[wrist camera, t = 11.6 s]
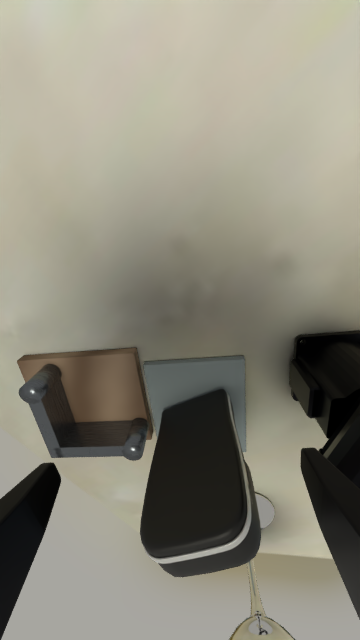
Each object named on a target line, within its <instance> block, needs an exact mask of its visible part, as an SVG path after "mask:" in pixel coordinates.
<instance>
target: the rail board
mask: <svg viewBox="0 0 360 640" xmlns="http://www.w3.org/2000/svg"><path fill="white" fill-rule="evenodd" d="M17 363H18V365H19V368H20V370H21V373H22V375H23V378H24V380H25V383H26V382H27V381H28V380H29V379H31V378H32V377H33V376H34V375H35V374H36V373H37V372H38V371H39V370H40V369H41V368H42V367H43V366H45V365H46V364H54V365H56V366H57V367H59V368H60V370H61V372H62V376H61V381H62V384H63V387H64V390H65V393H66V396H67V399H68V402H69V405H70V408H71V411H72V413H73V416H74V419H75V422H97V421H124V420H133V419H135V418H144V419H146V420H147V421H148V422H149V430H148V434H147V438H146V440H151V439H152V434H153V429H152V424H151V419H150V414H149V409H148V404H147V399H146V394H145V389H144V384H143V379H142V374H141V369H140V363H139V358H138V353H137V348H126V349H112V350H97V351H82V352H68V353H53V354H38V355H24V356H23V357H21V358H20V359H19V360H17Z"/></svg>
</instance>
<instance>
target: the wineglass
mask: <svg viewBox="0 0 360 640" xmlns="http://www.w3.org/2000/svg"><path fill="white" fill-rule="evenodd" d="M255 496H256V501H257V507H258V512H259V518H260V526H261V529H263V528H265V527H267V526H268V525H269V524H270V523H271V522H272V521H273V519H274V516H275V510H274V506H273V505H272V503H271V502H270V501H269V500H268V499H267V498H265V497H264V496H262V495H259V494H257V493H255ZM247 568H248V575H249V583H250V592H251V615H250V617H249V618H247V619H245V620H244V621H243V622H242V623H241V624H240V625H239V626H238V627H237V628H236V629H235V631H234V632H233V634H232V635H231V637H230V638H229V640H295V639H294V638H293V637H292V636H291V635H290V633H289V632H288V631H287V630H285V628H284V627H282V626H281V625H279V624H278V623H277V622H275V621H274V620H272V619H270V618H268V617H267V616H266V614H265V611H264V609H263V606H262V603H261V598H260V595H259V591H258V585H257V580H256V575H255V568H254V562H253V559H252V560H251V561H250V562H248V563H247Z"/></svg>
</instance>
